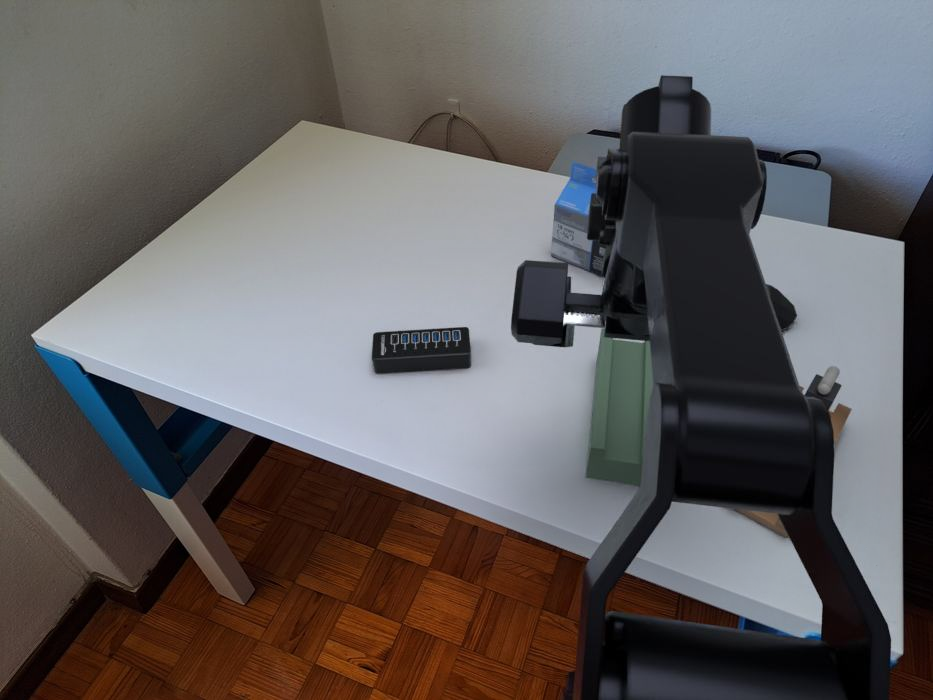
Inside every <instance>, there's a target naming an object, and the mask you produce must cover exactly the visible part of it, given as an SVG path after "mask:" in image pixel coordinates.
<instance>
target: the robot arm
mask: <svg viewBox="0 0 933 700" xmlns="http://www.w3.org/2000/svg"><path fill="white" fill-rule="evenodd" d="M693 77H694V76H690V75H660V77H659V81H658V85H657V86H653V87H650V88H646V89H644V90H642V91H641V92H637V93H636V94H635V95H633V96H632V97H631V98H630V99H628V101H627V102H626V103H625V104H624V105H623V106H622V111H621V119H620V121H621V122H620V133H619V134H620V136H619V148H607V155H606V156H597V163H596V169H597V171H596V178H595V182H596V193H592V194H591V199H590V206H589V215H588V227H587V239H588V240H594V241H599V245H606V249H605V253H604V258H603V263H602V276H601V275H600V276H601V278H602V279H604V282H603V287H602V291H601V294H592V293H583V292H582V293H581V292H572V277H571V276H570V275H569V274H568V273H569V265H570V263H568V262H559V261H558V262H557V261H544V260H543V261H542V260H529V259H525V260H524V261H523V262H522V263H521V264H520V265H518V267H517V269H516V274H515V284H514V293H513V301H512V310H511V319H510V332H511V336H512V337H513V338H514V339H515V341H516V343H521V344H522V343H524V344H531V345H534V346H543V347H554V348H555V347H556V348H572V347H574V341H575V340H574V339H575V327H588V328H598V329H602V328H605V329H604V337H606V338H613V339H616V340H628V341H631V340H632V341H642V342H644V341H650V351H651V363H652V376H653V389H652V393H651V396H650V400H649V406H648V412H647V419H646V429H645V439H644V452H643V465H642V478H641V486H640V485H639V489H638V490H637V492H636V493H635V494H634V496H633V497H632V498H631V500H630V501H629V503H628V504H627V506H626V507H625V509H624V510H623V511H622V513H621V514H620V516H619V517H618V518H617V520H616V521H615V523H614V524H613V525H612V527H611V528H610V529H609V531H608V533H607V534H606V535H605V536H604V538H603V540H602V541H601V543H600V544H599V545H598V546H597V548H596V549H595V551H594V552H593V554H592V555H591V557H590V558H589V560H588V561H587V562H586V565H585V567H584V570H583V574H582V583H581V594H580V596H581V597H580V605H579V606H580V607H579V619H578V620H579V621H578V632H577V644H576V654H575V655H576V657H575V665H574V670H571V671H569V672H568V674H565V685H564V687H563V688H561V690H560V693H559V700H890V686H891V685H890V683H891V657H892V637H891V632H890V629H889V625H888V622H887V620H886V618H885V616H884V614H883V613H882V610H881V608H880V607H879V605H878V603H877V600H876V599H875V597H874V595H873V593H872V591H871V590H870V588H869V585H868V584H867V582H866V580H865V578H864V576H863V573H862V572H861V570H860V569H859V566H858V564H857V563H856V560H855V559H854V557H853V554H852V553H851V551H850V549H849V547H848V545H847V543H846V541H845V540H844V539H845V538H844V537H843V536H842V533H841V531H840V529H839V527H838V525H837V524H836V522H835V520H834V517H833V494H834V493H833V491H834V474H835V473H834V472H835V444H834V431H833V427H832V422H831V418H830V414H829V411H830V410H829V411H828V409H827V408H826V406H825V404H824V403H823V401H822V400H820V399H817V398H814V397H805V396H804V395H805V394H804V393H803V392H804V391H803V392H802V391H801V389H800V386H801V385H800V383H799V380H798V377H797V374H796V371H795V368H794V365H793V362H792V359H791V356H790V352H789V350H788V347H787V344H786V341H785V338H784V334H783V332H782V330H781V329H780V326H779V323H778V319H777V316H776V313H775V310H774V307H773V304H772V301H771V298H770V289H769V287H768V286H767V285H766V284H767V283H766V281H765V278H764V275H763V271H762V269H761V265H760V263H759V259H758V257H757V254H756V250H755V248H754V244H753V242H752V239H751V235H750V233H751V230H754V228H755V227H756V226H757V224H758V223H759V221H760V218H761V216H762V212H763V208H764V204H765V199H766V193H767V184H768V183H767V181H768V176H767V175H768V174H767V167H766V162H765V161H764V160H763V159H759V156H758V150H757V147H756V145H755V143H754V142H753V140H752V139H750V137H748V136H733V135H732V136H731V135H713V134H711V133H712V106H711V103H710V101H709V99H708V98H707V96H705V94H703V93H701V92H700V91H698V90H696V89H694V88H693V82H694V81H693ZM568 275H569V276H568ZM672 503H678V504H679V503H680V504H687V505H689V504H691V505H697V506H705V507H706V506H707V507H715V508H723V509H730V510H731V509H732V510H734V509H739V510H748V511H757V512H765V513H774V514H778V516H779V518H780V520H781V522H782V524H783V526H784V528H785V530H786V532H787V534H788V536H787V537H788V538H789V540H790V542H791V544H792V546H793V548H794V550H795V552H796V554H797V555H798V558H799V560H800V562H801V563H802V566H803V567H804V570H805V572H806V574H807V575H808V578H809V579H810V581H811V584H812V586H813V588H814V590H815V591H816V593H817V596H818V597H819V599H820V601H821V625H820V626H821V627H820V639H815V638H806V637H801V636H792V635H785V634H778V633H771V632H764V631H756V630H749V629H742V628H736V627H728V626H720V625H713V624H706V623H699V622H692V621H686V620H685V621H684V620H677V619H671V618H663V617H656V616H650V615H642V614H635V613H628V612H619V611H613V610H610V611H608V612H607V613H606V609H607V600H608V598H609V596H610V594H611V593H612V591H613V590H614V588H615V587H616V585H617V584H618V582H619V581H620V580H621V579H622V577H623V575H624V574H625V573H626V571H627V569H628V568H629V567H630V565H631V564H632V563H633V561H634V560H635V559H636V557H637V555H638V554H639V553H640V551H641V550H642V548H643V547H644V546H645V545H646V543H647V542H648V540H649V538H651V535H652V534H653V533H654V532H655V530H656V528H657V527H658V526H659V524H660V523H661V522H662V520H663V519H664V517H665V516H666V514H667V513H668V511H669V510H670V508H671V506H672Z"/></svg>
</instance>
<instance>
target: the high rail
mask: <svg viewBox="0 0 933 700" xmlns="http://www.w3.org/2000/svg"><path fill="white" fill-rule="evenodd" d="M600 329H601V330H600V336H599V344H598V349H597V355H596V365H595V366H596V367H595V376H594V385H593V396H592V406H591V416H590V427H589V436H588V437H589V438H588V449H587V459H586V470H585V478H587V479H594V480H601V481H607V482H614V483H621V484H627V485H634V486H639V487H640V486H641V478H642V465H643V452H644V439H645V429H646V419H647V412H648V406H649V400H650V396H651V393H652V389H653V376H652V363H651V351H650V341H643V342H638V341H631V340H628V341H627V340H623V339H614V338H606V337H604V329H605V328H600Z"/></svg>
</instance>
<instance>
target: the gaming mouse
mask: <svg viewBox="0 0 933 700" xmlns="http://www.w3.org/2000/svg"><path fill="white" fill-rule="evenodd" d="M766 285H767V286H768V287H769V289H770V298H771V301H772V304H773V307H774V310H775V313H776V316H777V319H778V323H779V326H780V329H781V331H782V330H786V329H788V328H789V327H790V326H791V325H793V324H794V322H795V320H796V319H797V318H798V313H797V311H796V308H795V305H794V304H793V303H792V302H791V301H790V300H789V298H787V297H786V296H785V295H784V294H783V293H782V292H781V291H780V290H779V289H778V288H776V287H775V286H773V285H771V284H769V283H766Z"/></svg>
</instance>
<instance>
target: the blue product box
mask: <svg viewBox="0 0 933 700" xmlns="http://www.w3.org/2000/svg"><path fill="white" fill-rule="evenodd" d="M596 171H597V168H594V167H591V166H588V165H585V164H582V163H579V162H577V161H574V160H572V161H571V169H570V176H569V180H568V181H567V182H566V184H565V186H564V188H563V189H562V191H561V193H560V195H559V196H558V198H557V200H556V201H555V203H554V209H553V219H552V220H553V221H552V222H553V223H552V235H551V249H550V250H551V253H550V256H551V257H554V258H556V259H559V260H561V261H563V262H565V263H569V264H570V265H573V266H575V267H578V268H581V269H583V270H586V271H588V272H591V273H593V274H596V275H598V276H602V263H603V258H604V253H605V249H606V245H599V241H594V240H588V239H587V227H588V215H589V206H590V199H591V194H592V193H596V181H593V180H592V179H596Z"/></svg>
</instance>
